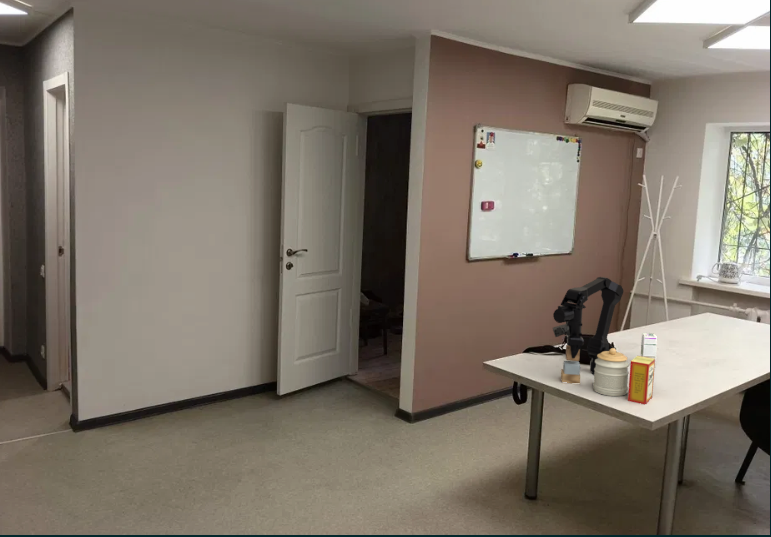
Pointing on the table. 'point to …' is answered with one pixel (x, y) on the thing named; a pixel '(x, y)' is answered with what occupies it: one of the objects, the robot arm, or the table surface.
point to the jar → (611, 373)
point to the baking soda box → (641, 379)
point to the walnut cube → (569, 356)
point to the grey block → (571, 367)
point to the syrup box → (649, 345)
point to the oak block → (569, 377)
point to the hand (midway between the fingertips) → (572, 356)
